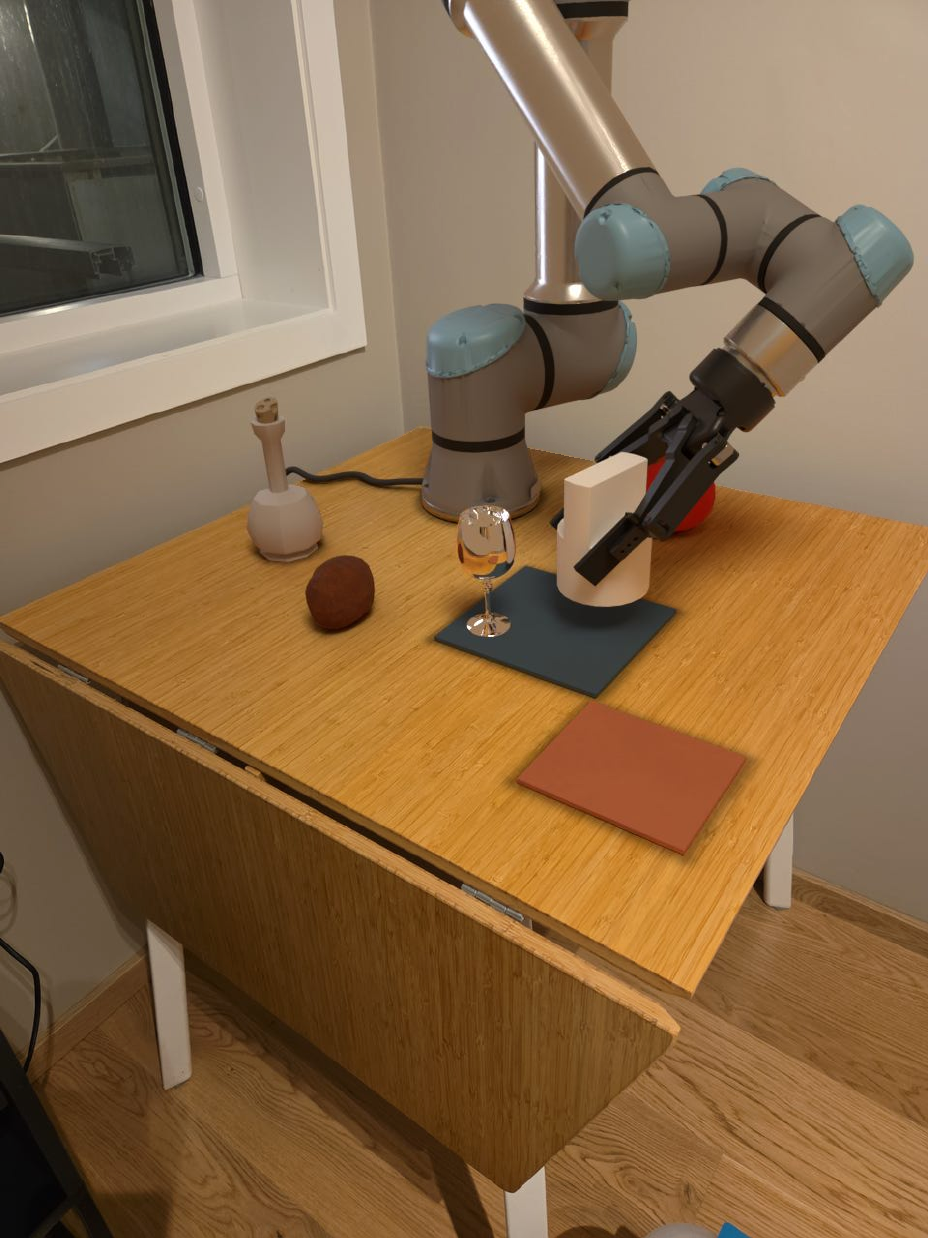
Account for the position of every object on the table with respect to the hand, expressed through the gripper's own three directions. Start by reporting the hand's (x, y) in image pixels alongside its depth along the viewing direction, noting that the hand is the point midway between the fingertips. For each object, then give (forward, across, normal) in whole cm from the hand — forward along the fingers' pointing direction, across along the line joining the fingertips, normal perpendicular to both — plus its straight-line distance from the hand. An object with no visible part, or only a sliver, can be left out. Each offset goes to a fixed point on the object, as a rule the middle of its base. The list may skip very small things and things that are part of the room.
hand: (571, 552), depth 87 cm
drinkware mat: (+7, 0, -5) cm, 8 cm away
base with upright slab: (+1, 0, -5) cm, 5 cm away
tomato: (-6, +19, -17) cm, 27 cm away
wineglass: (+11, +1, 0) cm, 11 cm away
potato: (+22, +7, +10) cm, 25 cm away
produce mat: (+6, -23, -5) cm, 24 cm away
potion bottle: (+26, +24, +14) cm, 38 cm away
